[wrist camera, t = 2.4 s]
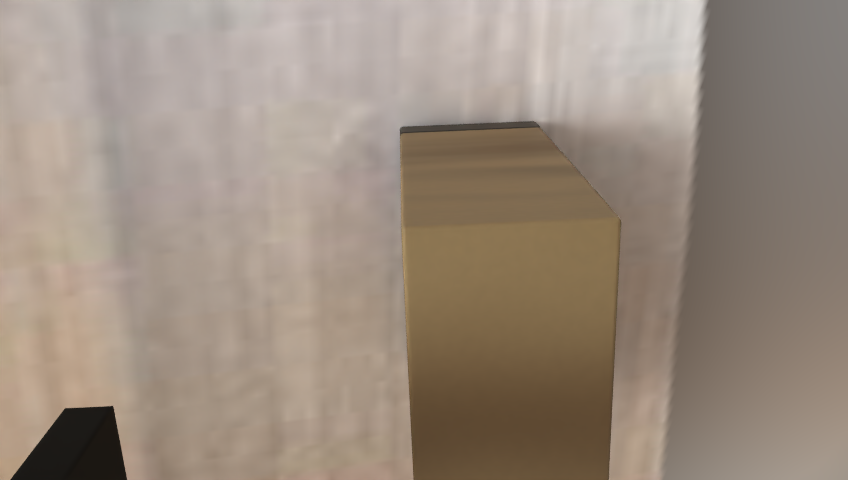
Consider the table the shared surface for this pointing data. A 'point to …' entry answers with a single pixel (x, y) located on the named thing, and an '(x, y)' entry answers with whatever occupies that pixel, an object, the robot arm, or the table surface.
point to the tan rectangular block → (506, 306)
